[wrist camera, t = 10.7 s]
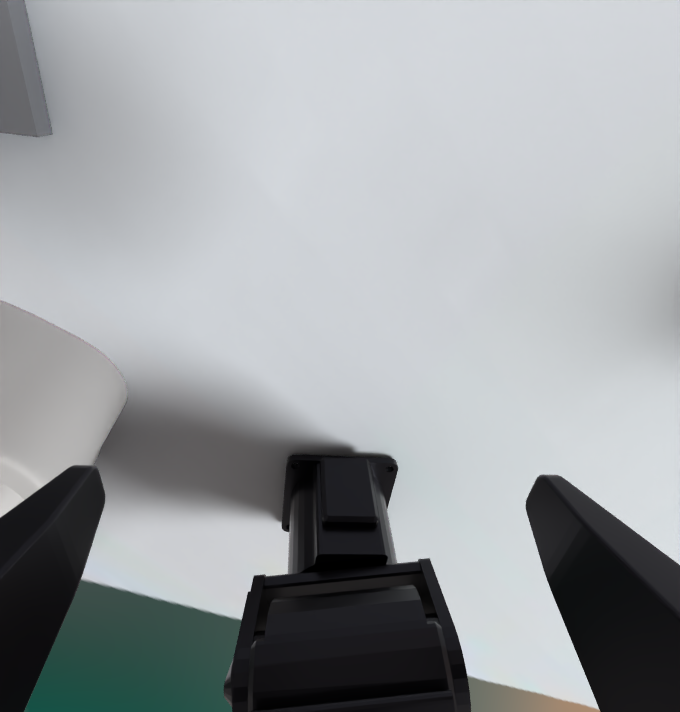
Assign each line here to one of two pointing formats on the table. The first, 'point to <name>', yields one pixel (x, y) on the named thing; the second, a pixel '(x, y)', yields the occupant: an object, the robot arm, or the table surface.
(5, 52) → the charcoal mat
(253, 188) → the table surface
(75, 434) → the lumpy-topped squat cylinder
